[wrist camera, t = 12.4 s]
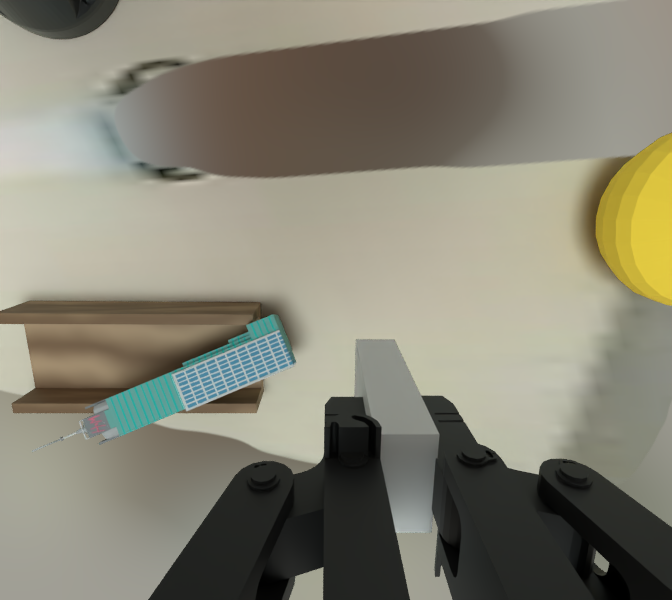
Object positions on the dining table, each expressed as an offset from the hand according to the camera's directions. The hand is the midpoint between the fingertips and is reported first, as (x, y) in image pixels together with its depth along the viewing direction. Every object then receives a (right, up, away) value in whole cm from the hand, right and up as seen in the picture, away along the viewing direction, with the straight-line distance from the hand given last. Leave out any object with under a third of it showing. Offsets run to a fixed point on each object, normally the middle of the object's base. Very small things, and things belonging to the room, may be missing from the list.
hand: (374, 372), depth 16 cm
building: (-7, -2, +31) cm, 32 cm away
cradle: (-25, -3, +36) cm, 44 cm away
